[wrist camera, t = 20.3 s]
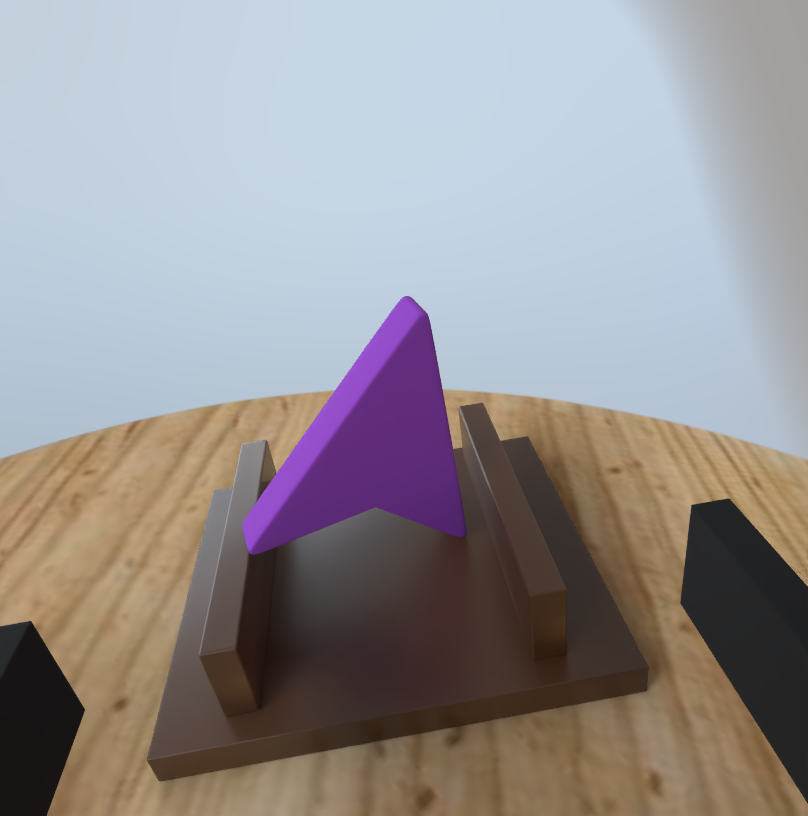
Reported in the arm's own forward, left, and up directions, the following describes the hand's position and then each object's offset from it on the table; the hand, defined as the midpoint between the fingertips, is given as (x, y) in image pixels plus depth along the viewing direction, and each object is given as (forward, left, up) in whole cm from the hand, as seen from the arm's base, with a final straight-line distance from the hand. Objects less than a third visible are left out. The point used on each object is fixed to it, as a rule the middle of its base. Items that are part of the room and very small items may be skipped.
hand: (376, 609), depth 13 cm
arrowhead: (+1, -10, -7) cm, 13 cm away
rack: (0, -10, -10) cm, 14 cm away
